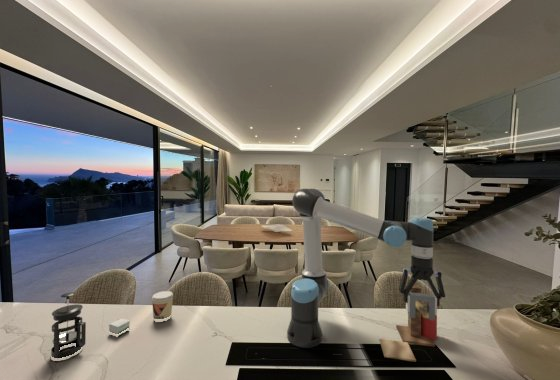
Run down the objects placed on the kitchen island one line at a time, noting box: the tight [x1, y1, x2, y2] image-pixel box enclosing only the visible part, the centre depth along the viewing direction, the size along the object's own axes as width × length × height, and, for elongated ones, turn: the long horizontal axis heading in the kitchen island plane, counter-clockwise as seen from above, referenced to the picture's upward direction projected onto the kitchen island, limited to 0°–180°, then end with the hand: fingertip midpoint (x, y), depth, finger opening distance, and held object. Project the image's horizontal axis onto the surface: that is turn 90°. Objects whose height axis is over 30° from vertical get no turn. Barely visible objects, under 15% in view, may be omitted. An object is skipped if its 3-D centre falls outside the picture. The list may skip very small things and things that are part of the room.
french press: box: [50, 291, 87, 358], centre depth 94 cm, size 12×9×23 cm
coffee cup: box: [151, 290, 174, 320], centre depth 119 cm, size 9×9×12 cm
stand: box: [395, 284, 436, 348], centre depth 103 cm, size 12×20×22 cm, turn 167°
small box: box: [108, 317, 131, 334], centre depth 107 cm, size 6×6×5 cm
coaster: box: [379, 338, 417, 363], centre depth 97 cm, size 11×11×1 cm
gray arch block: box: [407, 292, 435, 321], centre depth 98 cm, size 9×3×9 cm, turn 77°
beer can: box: [421, 305, 438, 341], centre depth 107 cm, size 7×7×12 cm
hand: (420, 311), depth 98 cm, fingers closed on gray arch block, 9 cm apart
